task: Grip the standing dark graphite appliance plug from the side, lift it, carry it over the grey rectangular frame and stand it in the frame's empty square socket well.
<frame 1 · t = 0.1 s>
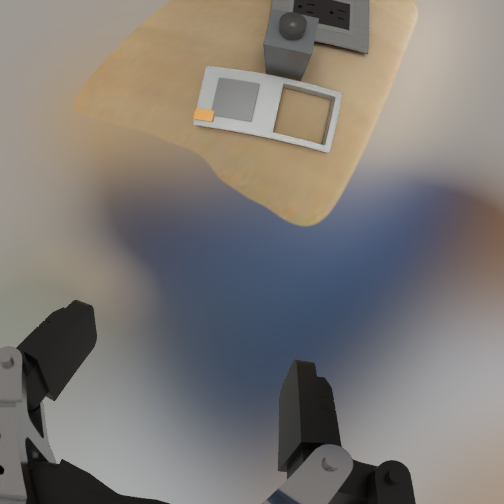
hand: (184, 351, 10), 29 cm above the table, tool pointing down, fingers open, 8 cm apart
electrical outlet: (319, 18, 27), on the table
plug: (286, 62, 30), on the table
grey rectangular frame: (268, 108, 32), on the table
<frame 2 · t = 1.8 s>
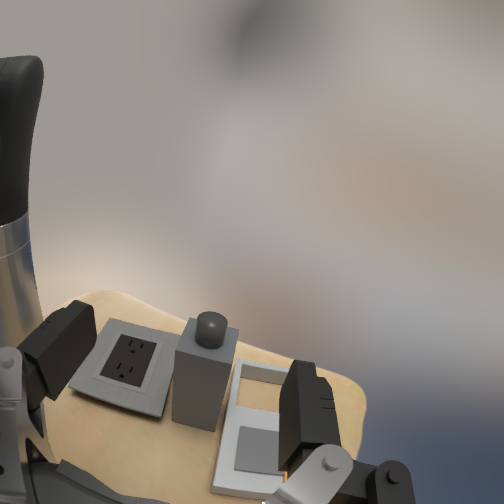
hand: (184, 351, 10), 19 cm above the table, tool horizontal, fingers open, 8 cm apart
electrical outlet: (130, 372, 29), on the table
plug: (197, 411, 26), on the table
grey rectangular frame: (260, 431, 25), on the table
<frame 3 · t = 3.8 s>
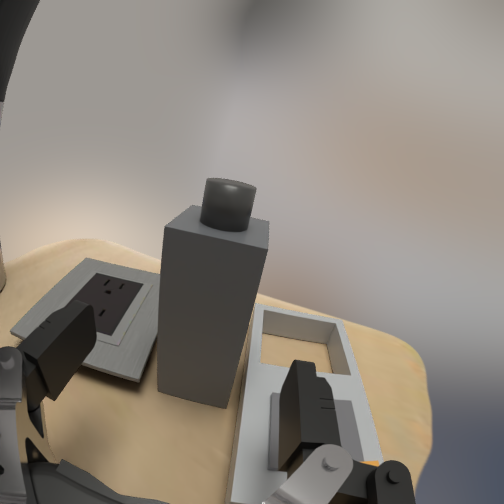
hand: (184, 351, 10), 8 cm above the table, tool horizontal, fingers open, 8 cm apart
electrical outlet: (104, 324, 21), on the table
plug: (198, 376, 18), on the table
grey rectangular frame: (297, 405, 17), on the table
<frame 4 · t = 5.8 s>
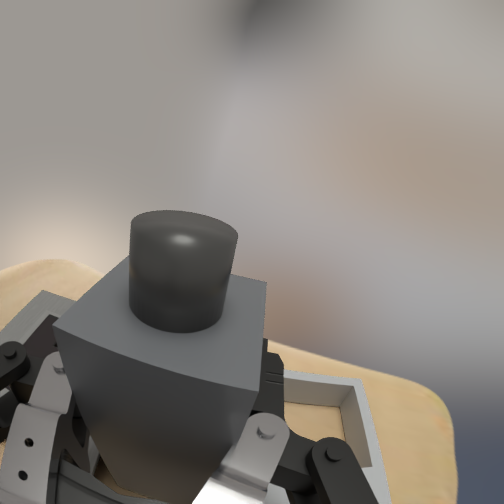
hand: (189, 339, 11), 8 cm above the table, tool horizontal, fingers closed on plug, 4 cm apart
electrical outlet: (58, 382, 14), on the table
plug: (170, 467, 11), on the table, touching gripper
grey rectangular frame: (300, 502, 10), on the table
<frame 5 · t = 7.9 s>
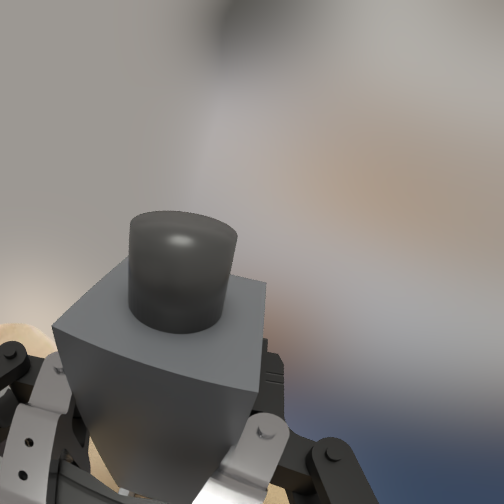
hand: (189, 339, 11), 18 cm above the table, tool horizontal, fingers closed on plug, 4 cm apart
plug: (170, 468, 11), point 10 cm above the table, touching gripper
when the fingers open (9 cm above the table, at t = 10.3 s): plug drops 1 cm, resting in grey rectangular frame.
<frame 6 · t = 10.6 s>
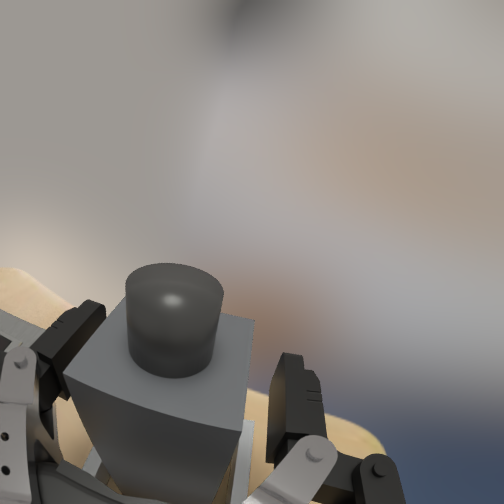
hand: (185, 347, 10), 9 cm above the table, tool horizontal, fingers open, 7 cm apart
plug: (171, 477, 11), resting in grey rectangular frame
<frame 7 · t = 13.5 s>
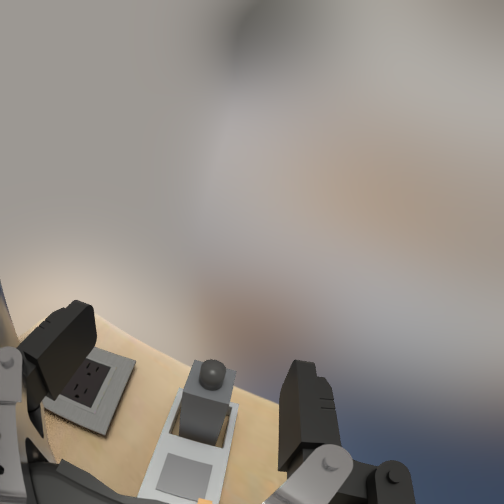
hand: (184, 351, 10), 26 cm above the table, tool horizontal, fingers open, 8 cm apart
electrical outlet: (89, 391, 30), on the table
plug: (200, 429, 30), resting in grey rectangular frame
grey rectangular frame: (191, 456, 26), on the table
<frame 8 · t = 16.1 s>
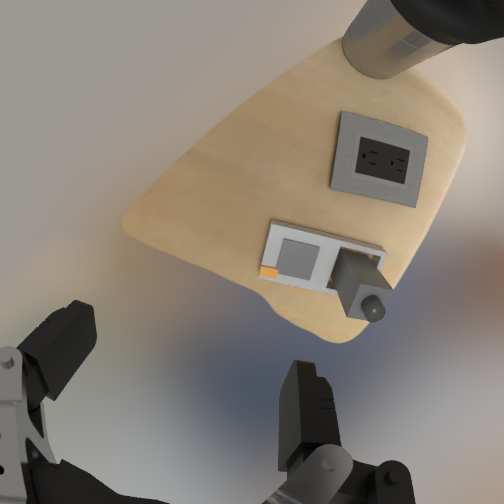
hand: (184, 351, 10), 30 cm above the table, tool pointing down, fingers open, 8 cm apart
electrical outlet: (377, 159, 35), on the table
plug: (349, 265, 40), resting in grey rectangular frame
grey rectangular frame: (322, 259, 40), on the table
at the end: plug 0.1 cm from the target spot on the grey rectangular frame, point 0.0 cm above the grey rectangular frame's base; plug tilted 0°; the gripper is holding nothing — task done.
